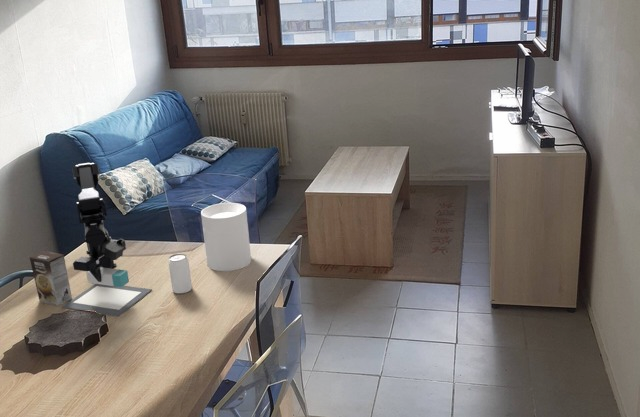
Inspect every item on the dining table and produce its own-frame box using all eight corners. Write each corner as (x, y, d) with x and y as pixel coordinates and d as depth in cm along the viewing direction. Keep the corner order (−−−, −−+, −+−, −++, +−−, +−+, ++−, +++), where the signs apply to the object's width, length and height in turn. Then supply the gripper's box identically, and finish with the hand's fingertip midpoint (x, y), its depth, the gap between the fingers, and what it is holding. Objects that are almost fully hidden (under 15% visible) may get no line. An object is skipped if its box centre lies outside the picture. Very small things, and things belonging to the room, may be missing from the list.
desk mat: (62, 307, 205) (61, 306, 205) (98, 283, 221) (97, 281, 221) (118, 316, 198) (118, 314, 198) (151, 290, 214) (151, 288, 213)
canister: (199, 269, 227) (192, 217, 221) (218, 251, 242) (213, 201, 235) (240, 273, 223) (235, 219, 216) (257, 254, 237) (253, 203, 230)
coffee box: (38, 301, 210) (28, 257, 205) (54, 293, 216) (44, 249, 210) (57, 306, 206) (47, 261, 201) (73, 298, 212) (64, 253, 206)
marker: (88, 282, 207) (86, 271, 206) (96, 277, 211) (94, 266, 210) (121, 287, 203) (119, 275, 202) (129, 281, 207) (127, 270, 205)
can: (190, 293, 210) (185, 260, 206) (170, 294, 210) (165, 261, 206) (194, 285, 216) (189, 252, 212) (175, 285, 216) (170, 253, 212)
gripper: (97, 248, 191) (106, 294, 196) (134, 225, 207) (141, 269, 213) (67, 245, 195) (77, 290, 200) (106, 223, 211) (114, 265, 216)
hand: (104, 278), depth 207 cm, fingers closed on marker, 4 cm apart
